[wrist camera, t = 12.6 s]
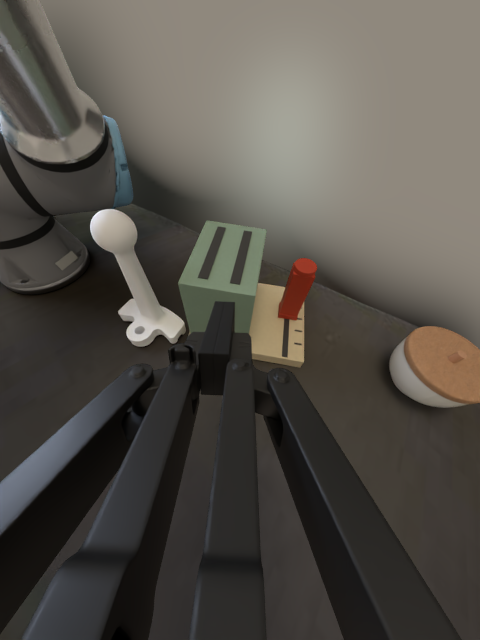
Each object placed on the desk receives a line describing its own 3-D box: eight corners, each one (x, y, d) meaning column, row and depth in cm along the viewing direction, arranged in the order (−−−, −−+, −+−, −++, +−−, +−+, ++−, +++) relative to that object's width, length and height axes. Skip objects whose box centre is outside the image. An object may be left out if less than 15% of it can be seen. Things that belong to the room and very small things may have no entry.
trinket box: (451, 374, 36) (512, 347, 29) (441, 432, 31) (513, 419, 23) (386, 338, 39) (425, 306, 32) (367, 386, 34) (408, 361, 27)
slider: (296, 321, 38) (318, 275, 29) (277, 318, 38) (293, 271, 29) (296, 307, 39) (317, 260, 31) (278, 304, 40) (294, 256, 31)
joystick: (190, 325, 39) (165, 217, 22) (164, 361, 35) (109, 261, 18) (139, 302, 41) (81, 188, 24) (108, 333, 37) (15, 222, 20)
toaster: (300, 367, 35) (337, 315, 24) (187, 347, 36) (170, 287, 24) (301, 294, 44) (328, 230, 32) (211, 279, 45) (206, 212, 33)
